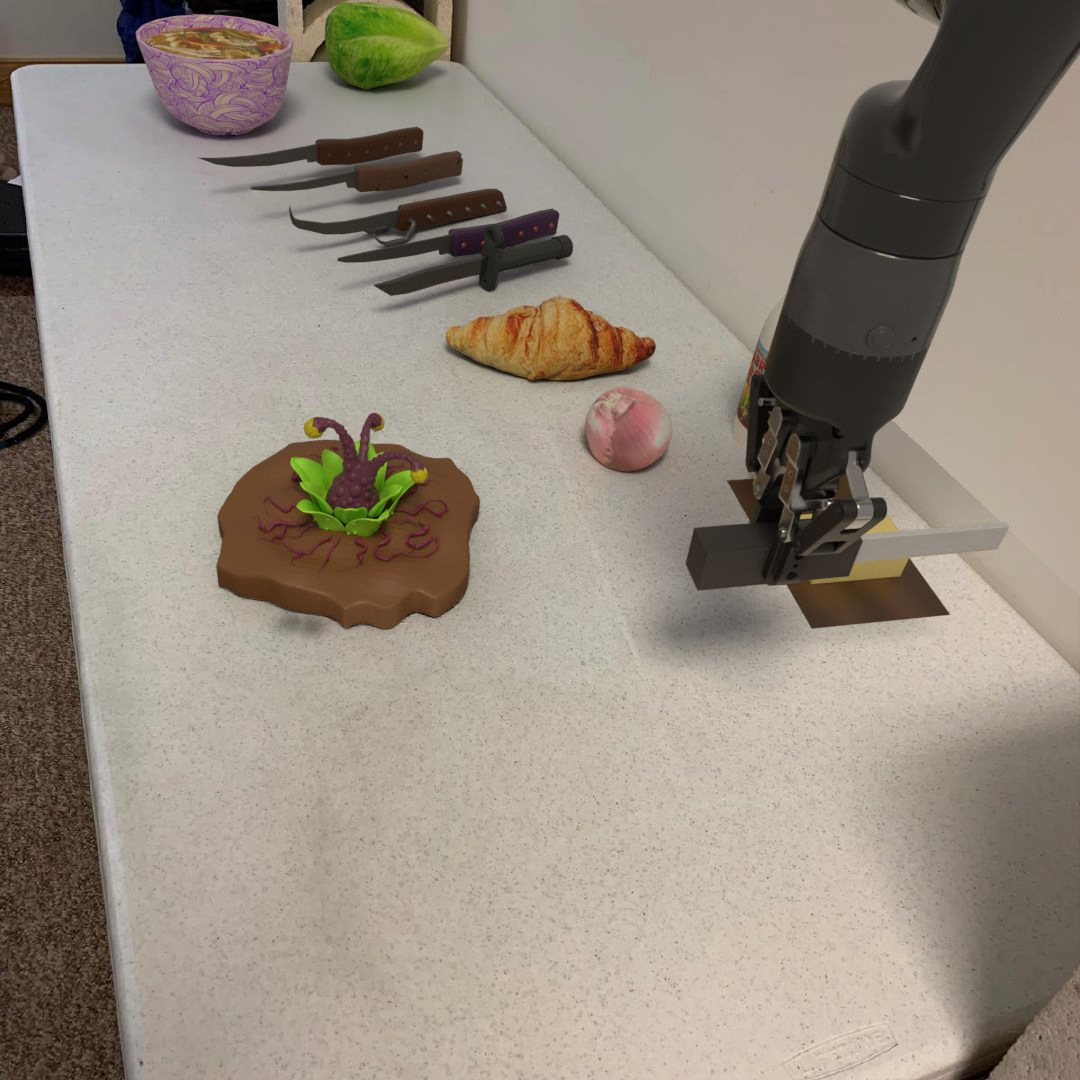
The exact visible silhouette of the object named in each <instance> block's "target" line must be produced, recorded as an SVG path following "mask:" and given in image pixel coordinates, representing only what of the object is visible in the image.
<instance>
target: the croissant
mask: <svg viewBox="0 0 1080 1080" xmlns="http://www.w3.org/2000/svg"><path fill="white" fill-rule="evenodd" d="M444 334H445V342H446V343H447V344H448V345H449V346H450V347H451V348H452V349H453V350H455V351H457V352H459V354H462V355H463V356H467V357H469V358H471V360H473V361H475V362H477V363H480V364H482V365H485V366H490V367H493V368H495V369H497V370H499V371H502V372H506V373H510V374H512V375H515V376H518V377H522V378H525V379H528V380H529V381H535V380H536V381H537V380H542V379H545V380H550V381H571V380H580V379H584V378H589V377H592V376H598V375H603V374H609V373H615V372H619V371H623V370H628V369H631V368H634V367H635V366H637V365H639V364H641V363H643V362H645V361H646V360H648V359H650V358H651V357H652V356H653V355H654V354H655V352H656V349H657V345H656V342H655V339H653V338H651V337H649V336H645V337H641V336H638V335H637V334H635V332H634V331H633V330H631V329H629V328H626V327H624V326H614V325H612V324H611V323H610V322H609V321H608V320H607V319H605V318H604V317H603V316H601V315H599V314H596V313H594V311H593V310H586V309H585V308H584V306H582V304H580V302H579V301H577V300H576V299H574V298H569V297H564V296H561V295H559V296H558V295H557V296H553V297H551V298H548V299H545V300H543V301H542V302H541V303H540V304H539V305H536V306H534V305H522V306H517V307H513V308H509V310H507V311H506V312H505V313H503V314H497V315H495V316H494V315H493V316H479V317H478V318H475V319H473V320H471V321H469V322H467V323H466V324H465V325H464V326H463V325H462V326H461V325H455V326H450V327H448V329H447V330H446V331H445V333H444Z"/></svg>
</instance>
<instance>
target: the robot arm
mask: <svg viewBox="0 0 1080 1080" xmlns="http://www.w3.org/2000/svg"><path fill="white" fill-rule="evenodd" d="M893 1H894V2H895V3H896V4H897V5H899V6H901V8H904V9H905V10H907V11H909V12H910V13H911V14H912V13H913V14H914V15H916V16H918V17H920V18H922V19H923V20H926V21H928V22H930V23H931V24H933V25H935V26H936V27H938V29H937V31H936V34H935V36H934V38H933V42H932V44H931V46H930V48H929V50H928V52H927V53H926V55H925V57H924V59H923V61H922V62H921V64H920V65H919V67H918V68H917V70H916V71H915V73H914V75H913V77H912V78H911V79H895V80H894V79H893V80H889V81H885V82H879V83H877V84H875V85H873V86H871V87H868V88H867V89H866V90H864V92H863V93H861V94H860V95H859V96H858V97H857V99H855V101H854V103H853V104H852V106H851V108H850V110H849V112H848V115H847V116H846V119H845V121H844V124H843V126H842V128H841V131H840V134H839V137H838V140H837V143H836V146H835V150H834V154H833V156H832V160H831V164H830V166H829V170H828V173H827V176H826V180H825V183H824V186H823V190H822V193H821V196H820V200H819V201H818V202H819V203H818V207H817V208H816V212H815V213H814V218H813V220H812V222H811V225H810V226H809V229H808V231H807V232H806V235H805V237H804V240H803V242H802V244H801V246H800V248H799V251H798V254H797V257H796V260H795V262H794V263H795V264H794V266H793V270H792V273H791V277H790V280H789V283H788V285H787V290H786V293H785V294H786V296H785V299H784V303H783V306H782V309H781V313H780V316H779V319H778V323H777V326H776V329H775V333H774V336H773V339H772V343H771V346H770V349H769V352H768V356H767V359H766V362H765V367H764V374H753V376H752V378H751V383H750V399H749V415H748V431H747V447H746V449H745V451H746V452H745V469H746V471H747V472H748V473H753V474H754V473H755V475H757V477H756V480H755V482H754V487H753V490H754V495H755V497H756V498H757V500H756V503H755V507H754V510H753V513H752V516H751V519H750V520H749V522H748V523H764V522H776V521H780V523H779V527H778V532H776V534H775V537H774V540H773V542H772V545H771V548H770V551H769V554H768V557H767V560H766V563H765V565H764V568H763V571H762V577H763V579H764V580H765V582H766V584H765V585H767V586H769V587H772V586H773V587H774V586H775V587H776V586H787V585H789V584H794V583H798V582H799V581H800V580H801V578H802V576H803V572H804V570H805V567H806V565H807V563H808V560H809V558H810V555H817V554H833V553H840V552H842V551H843V550H844V549H845V548H847V547H848V546H849V545H851V544H852V543H853V542H855V541H856V540H857V539H859V538H860V537H861V536H863V535H864V534H865V533H867V532H868V531H869V530H870V529H872V528H873V527H874V526H876V525H877V524H878V523H880V522H881V521H882V520H884V519H885V517H886V515H887V514H888V505H887V504H888V503H887V501H886V500H885V499H884V498H883V497H882V496H876V497H874V496H873V497H870V495H869V491H868V486H867V484H866V479H865V476H864V473H865V472H866V471H867V470H868V468H869V466H870V464H871V460H872V451H873V450H872V449H873V442H874V439H875V435H876V434H877V433H878V432H879V431H880V430H881V429H883V428H884V427H885V426H886V425H887V424H888V423H890V422H891V421H892V420H894V419H896V418H897V417H898V416H899V415H900V413H902V411H903V410H904V409H905V406H906V404H907V401H908V400H909V396H910V395H911V392H912V390H913V388H914V384H915V382H916V380H917V377H918V375H919V373H920V371H921V368H922V366H923V364H924V362H925V359H926V357H927V354H928V352H929V350H930V347H931V345H932V342H933V339H934V337H935V335H936V333H937V330H938V328H939V326H940V323H941V321H942V318H943V316H944V314H945V311H946V309H947V306H948V304H949V302H950V300H951V296H952V294H953V291H954V288H955V285H956V281H957V277H958V273H959V269H960V265H961V261H962V258H963V256H964V254H965V253H964V252H965V250H966V247H967V245H968V242H969V239H970V238H971V235H972V232H973V230H974V228H975V226H976V223H977V221H978V219H979V215H980V214H981V211H982V209H983V206H984V203H985V201H986V199H987V197H988V195H989V192H990V189H991V188H992V184H993V181H994V179H995V177H996V173H997V171H998V169H999V167H1000V164H1001V163H1002V162H1003V160H1004V158H1005V157H1006V155H1007V154H1008V153H1009V152H1010V150H1011V149H1012V147H1013V146H1014V144H1015V143H1016V142H1017V141H1018V140H1019V138H1020V137H1021V136H1022V134H1023V133H1024V132H1025V131H1026V130H1027V128H1028V127H1029V126H1030V125H1031V123H1032V122H1033V120H1034V119H1035V118H1036V116H1037V115H1038V113H1039V112H1040V111H1041V109H1042V107H1043V106H1044V105H1045V103H1046V102H1047V100H1048V99H1049V97H1051V95H1052V93H1053V92H1054V90H1055V89H1056V88H1057V87H1058V85H1059V83H1060V82H1061V81H1062V80H1063V78H1064V77H1065V75H1066V74H1067V73H1068V71H1069V70H1070V69H1071V68H1072V66H1073V65H1074V63H1075V62H1076V61H1077V59H1078V58H1079V56H1080V0H893ZM769 411H770V412H769ZM766 433H767V435H766V437H765V439H764V442H763V436H764V434H766ZM762 443H763V444H762ZM805 511H813V514H812V518H811V520H807V521H799V520H800V517H801V514H802V513H803V512H805Z"/></svg>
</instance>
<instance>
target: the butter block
mask: <svg viewBox="0 0 1080 1080" xmlns="http://www.w3.org/2000/svg"><path fill="white" fill-rule="evenodd" d="M809 518H812V514H805V515H801V517H800V519H809ZM893 531H900V529H899V528H898V526H897V525H896V524H895V522H894V521H893V519H891V517H890V515H889V514H888V513H887V515H886V517H885V519H884V520H882V521H881V522H880V523H878V524H877V525H876V526H874V527H873V528H872V529H870V530H869V531H868V532H867V533H865V534H870V533H882V532H893ZM908 559H909V558H899V559H888V560H877V561H866V562H855V563H854V565H853V567H852V570H851V572H850V575H849V576H847V577H837V578H826V579H816V580H809V582H810V583H811V584H820V583H831V582H842V581H854V580H865V579H876V578H888V577H899V576H901V574H902V571H903V569H904V567H905V565H906V563H907V561H908Z"/></svg>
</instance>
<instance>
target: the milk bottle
mask: <svg viewBox="0 0 1080 1080" xmlns="http://www.w3.org/2000/svg"><path fill="white" fill-rule="evenodd" d="M785 296H786V293H785V294H784V295H783V296H782V297H781V298H780V300H778V301H777V303H776V304H775V305H774V306H773V308H772V309H771V310H770V312H769V314H768V316H767V317H766V319H765V322H764V323H763V325H762V328H761V331H760V334H759V336H758V339H757V343H756V345H755V348H754V351H753V354H752V358H751V362H750V365H749V368H748V372H747V375H746V379H745V382H744V386H743V388H742V392H741V395H740V396H741V397H740V399H739V403H738V407H737V410H736V413H735V417H734V420H733V424H732V428H731V429H732V432H731V433H732V435H733V437H734V439H735V441H736V442H737V443H738V444H739V445H740V446H741V447H742V448H743V449H744V450H746V447H747V431H748V415H749V399H750V383H751V378H752V376H753V374H764V367H765V362H766V359H767V356H768V352H769V349H770V346H771V343H772V339H773V336H774V333H775V329H776V326H777V323H778V319H779V316H780V313H781V309H782V306H783V303H784V299H785ZM769 412H770V411H769ZM766 435H767V433H766V434H764V436H763V442H764V439H765V437H766ZM762 444H763V443H762Z"/></svg>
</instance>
